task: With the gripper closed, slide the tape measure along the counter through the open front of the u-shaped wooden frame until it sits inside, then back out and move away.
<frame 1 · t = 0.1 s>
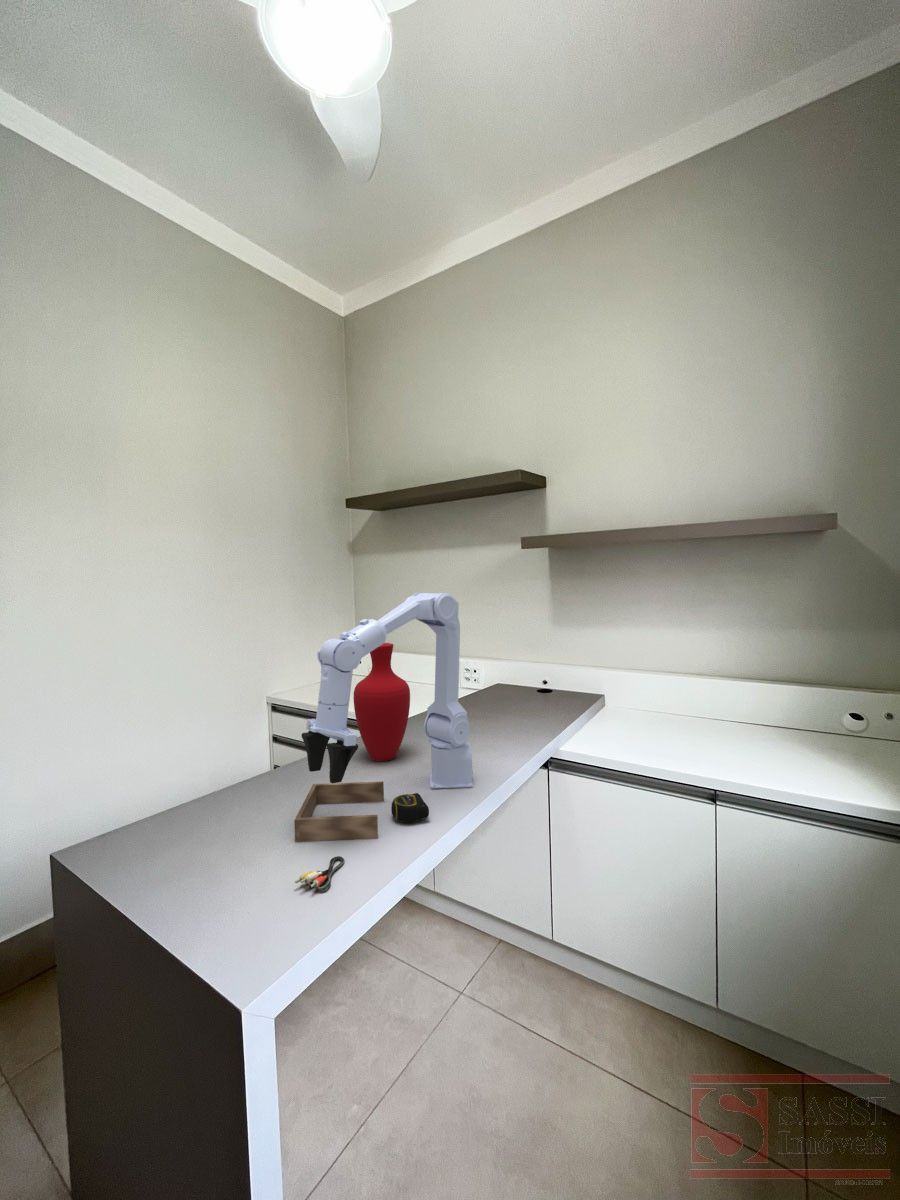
hand: (324, 776, 93), 11 cm above the table, fingers open, 7 cm apart
u-shaped wooden frame: (345, 818, 98), on the table
composite cable: (327, 880, 79), on the table
vase: (383, 758, 131), on the table
tape measure: (412, 817, 99), on the table
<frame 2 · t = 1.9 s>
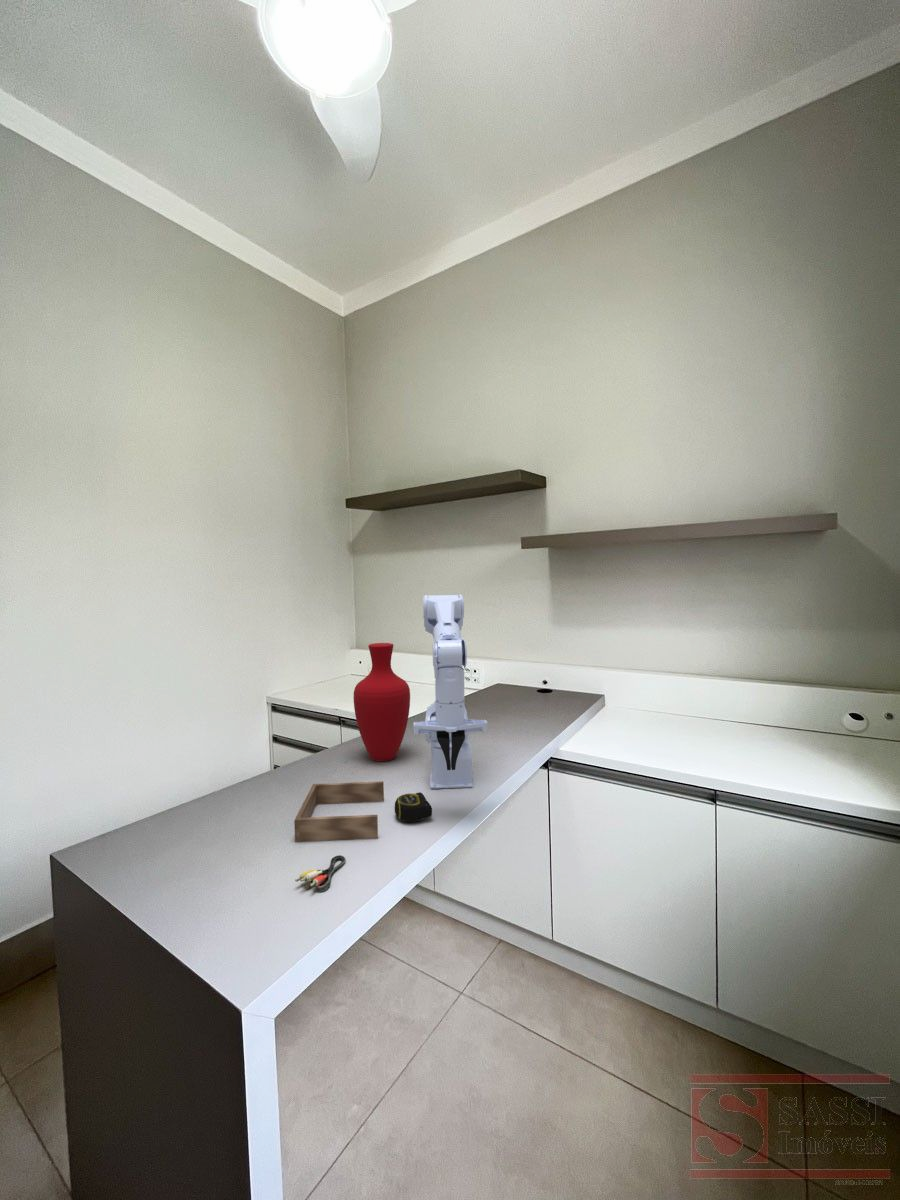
hand: (450, 768, 99), 9 cm above the table, fingers closed
nothing on the table moved.
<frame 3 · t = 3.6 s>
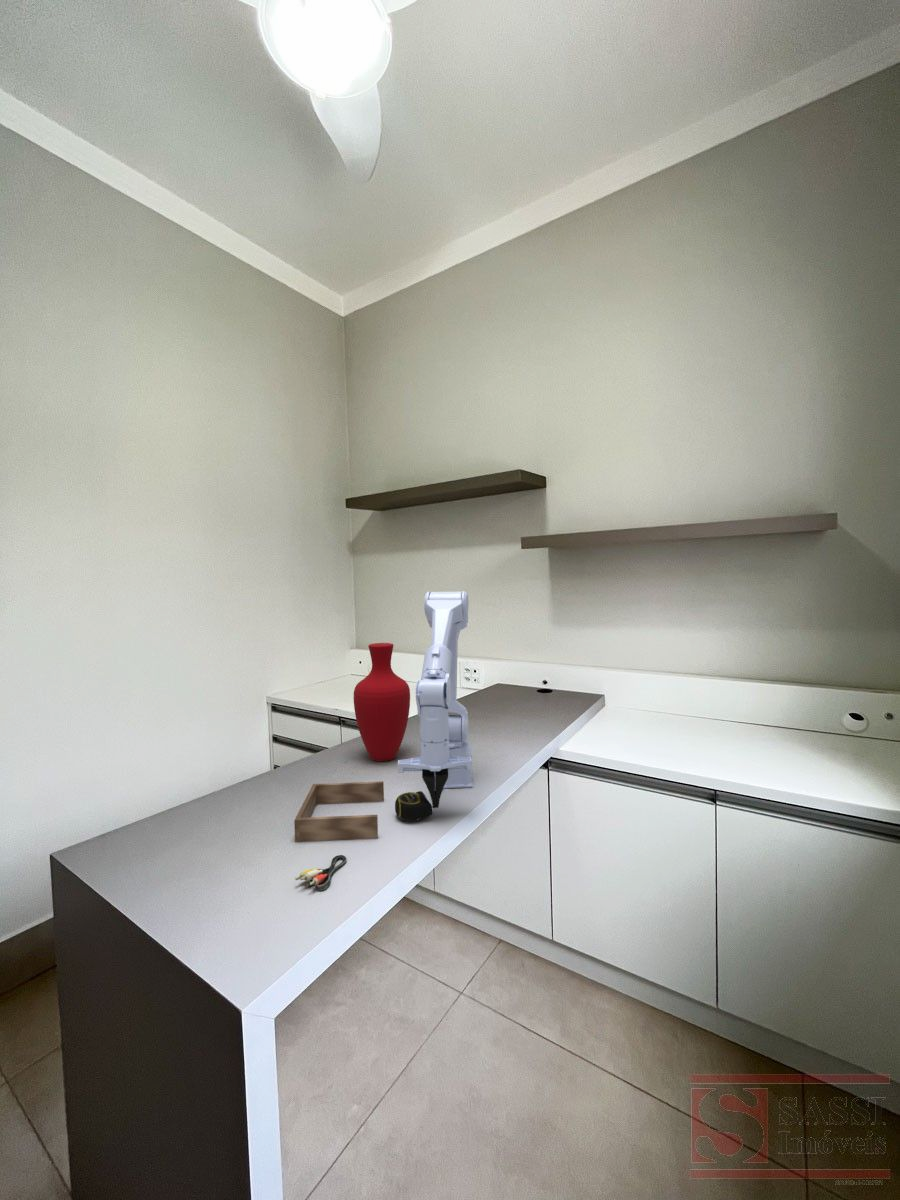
hand: (435, 805, 99), 2 cm above the table, fingers closed
tape measure: (415, 815, 99), on the table, touching gripper
everything else where it was.
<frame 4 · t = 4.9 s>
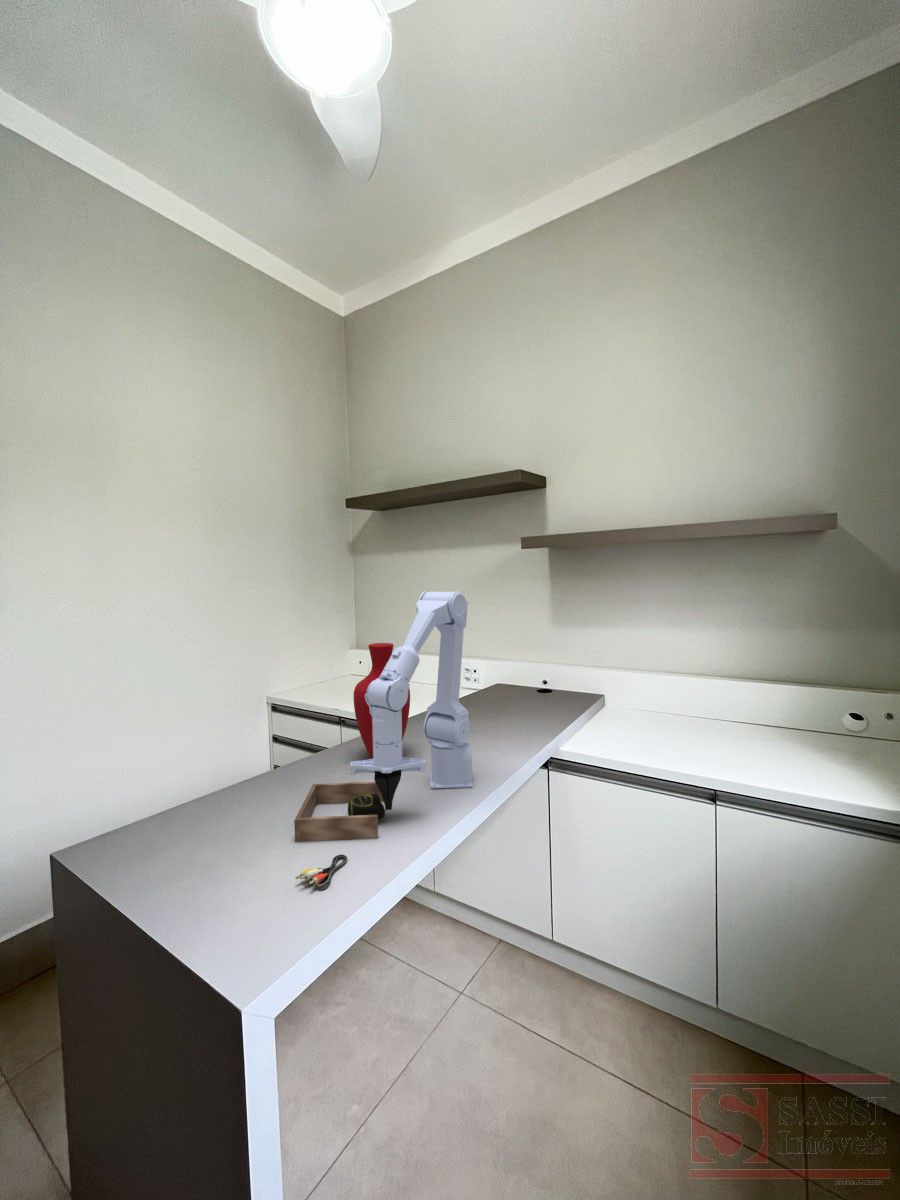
hand: (388, 807, 98), 2 cm above the table, fingers closed
tape measure: (369, 818, 98), on the table, touching gripper
everything else where it was.
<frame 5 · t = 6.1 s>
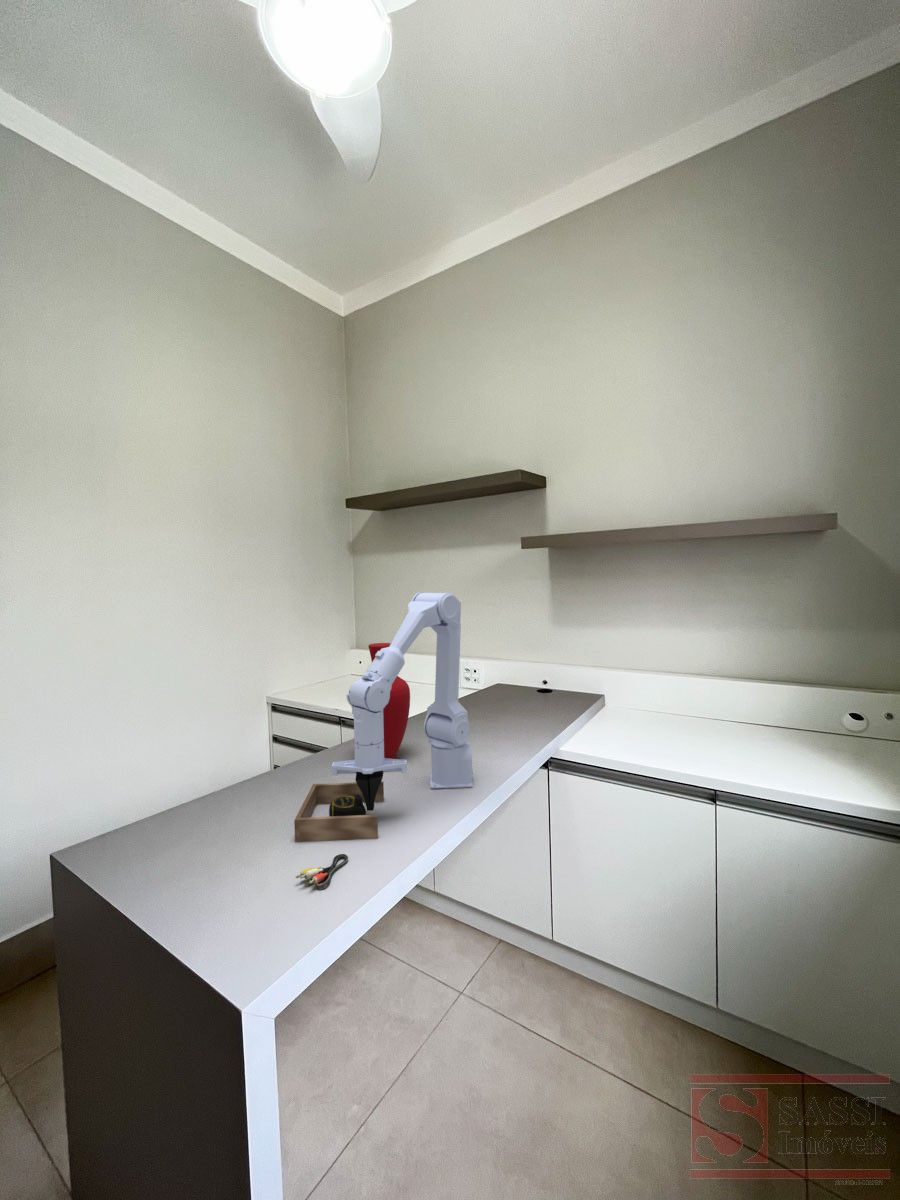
hand: (370, 808, 98), 2 cm above the table, fingers closed
tape measure: (350, 819, 98), on the table, touching gripper
everything else where it was.
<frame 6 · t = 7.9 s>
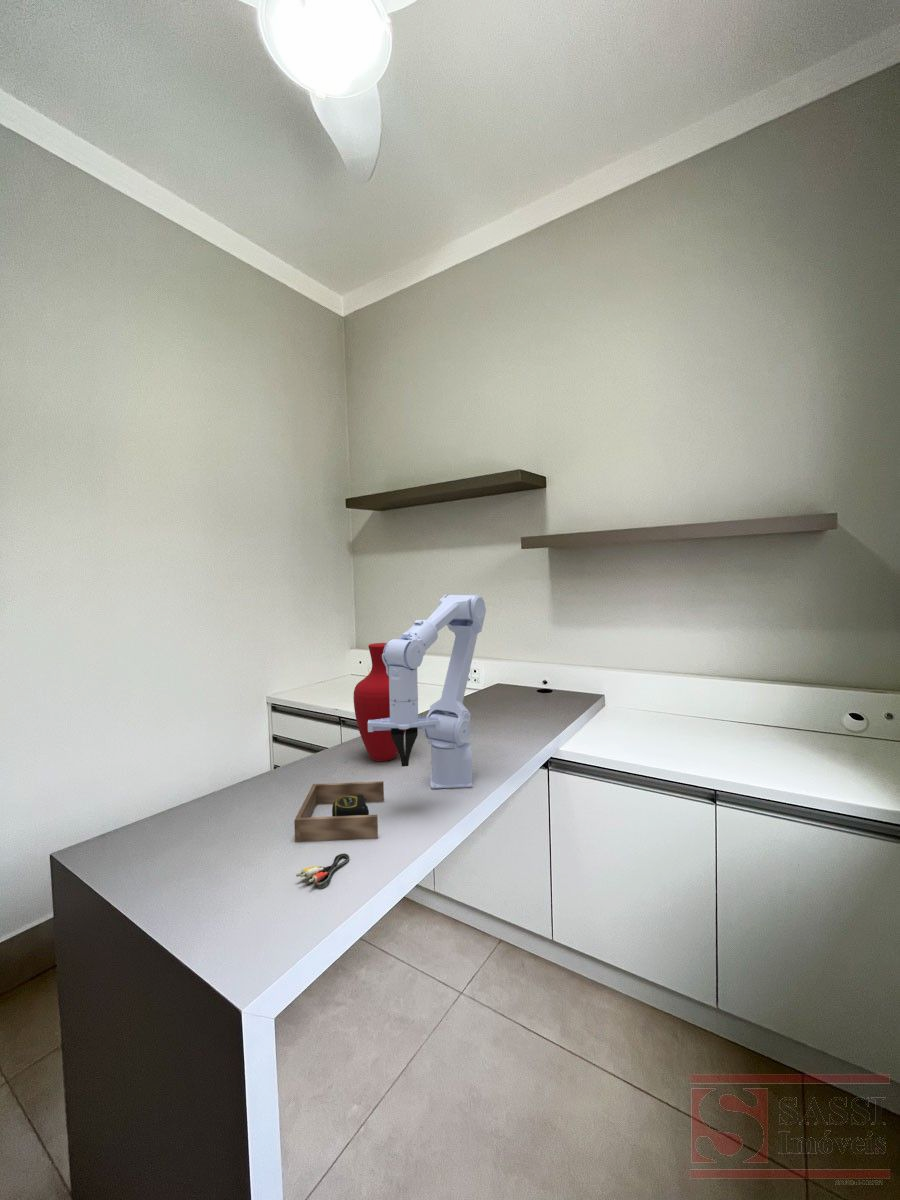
hand: (405, 764, 101), 9 cm above the table, fingers closed
tape measure: (353, 819, 98), on the table
everything else where it was.
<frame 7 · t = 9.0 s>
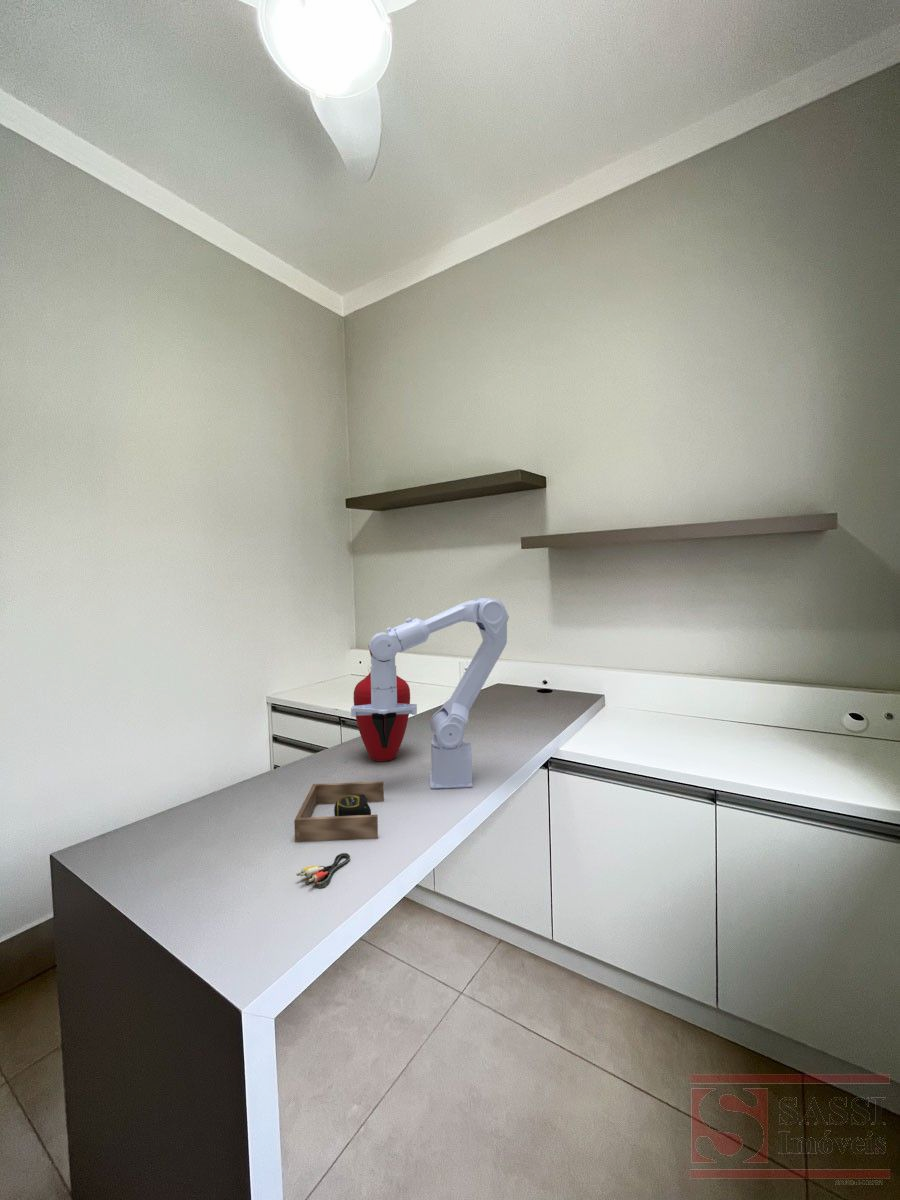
hand: (385, 746, 112), 9 cm above the table, fingers closed
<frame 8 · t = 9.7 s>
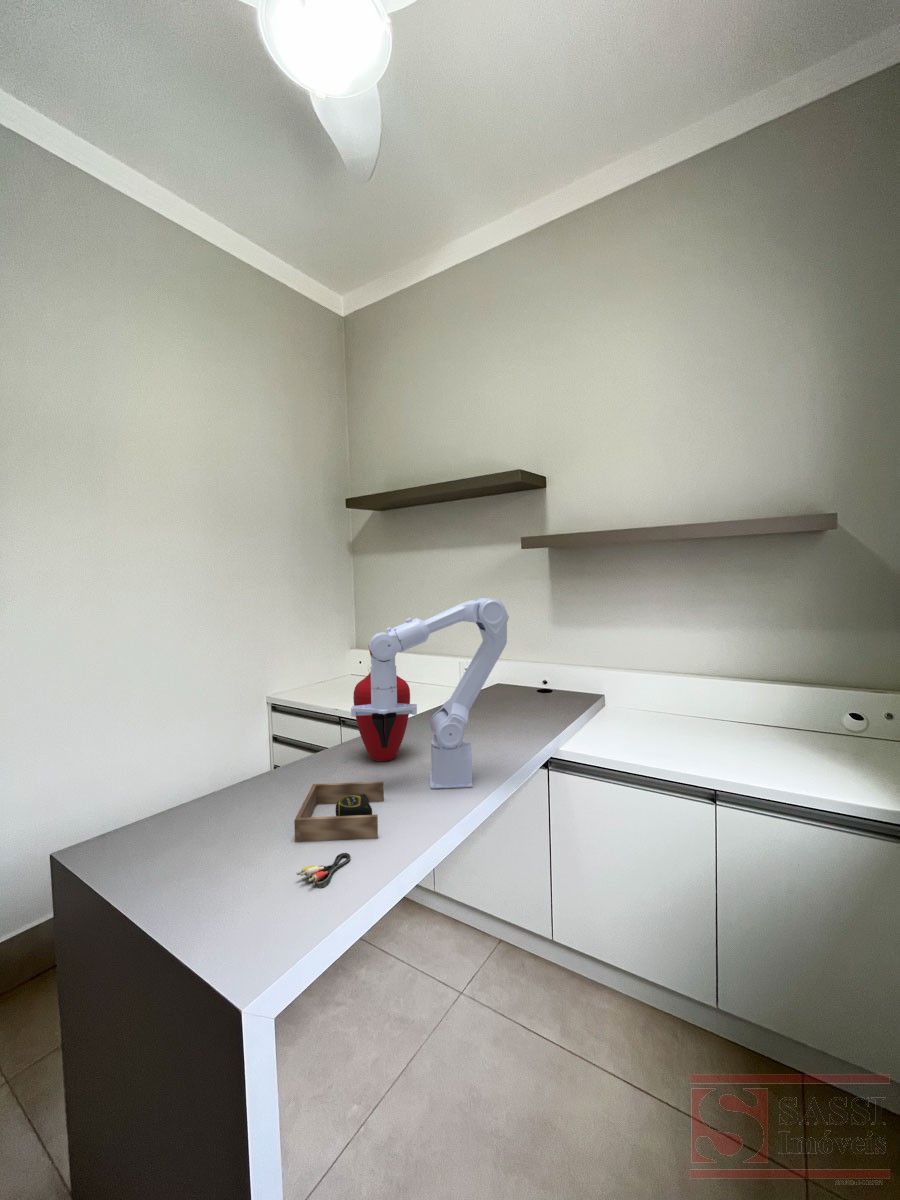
hand: (385, 746, 112), 9 cm above the table, fingers closed
at the end: tape measure inside the target area on the u-shaped wooden frame (2.4 cm from its centre), point 0.0 cm above the u-shaped wooden frame's base; tape measure moved 10.7 cm from its start; the gripper is holding nothing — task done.
